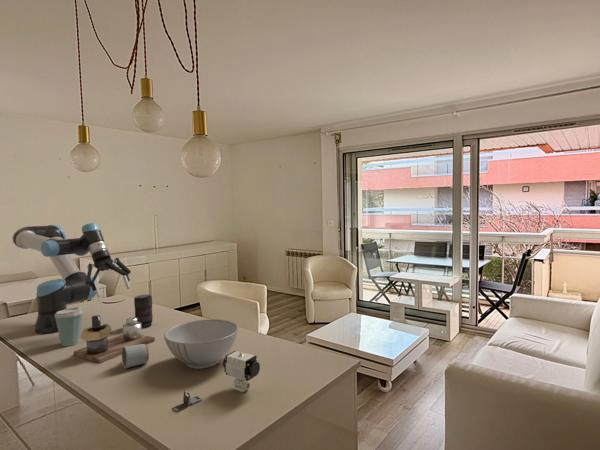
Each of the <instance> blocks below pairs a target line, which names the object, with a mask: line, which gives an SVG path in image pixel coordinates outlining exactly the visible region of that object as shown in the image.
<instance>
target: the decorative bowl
mask: <svg viewBox="0 0 600 450" xmlns="http://www.w3.org/2000/svg"><path fill="white" fill-rule="evenodd" d="M238 332H239V326H238V324H237V323H235V322H234V321H232V320H231V321H230V320H227V319H218V318H207V319H206V318H205V319H197V320H196V319H195V320H191V321H186V322H183V323H180V324H176V325H173V326H172V327H170V328H169V329H167V330H166V331H165V333H164V334H163V339H164V342H165V344H166V346H167V348H168V350H169V351H170V353H171V354H172V355H173V356H174V357H175V358H176V359H177V360H179V361H180V362H182V363H184V364H185V365H186V367H188V368H191V369H197V370H198V369H199V370H200V369H206V368H211V367H213V366H215V365H217V364H219V363H220V361H221V359H222V358H225V356H226V355H228V354H229V352H230V351H231V349H232V348H233V346H234V344H235V341H237V338H238V337H237V336H238Z"/></svg>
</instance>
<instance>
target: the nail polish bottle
mask: <svg viewBox="0 0 600 450" xmlns="http://www.w3.org/2000/svg"><path fill="white" fill-rule="evenodd" d="M101 325H102V324H101V315H98V314H97V315H92V316H91V327H92V332H94V331H100V330H101ZM108 339H109V337H106V338H103V339H100V340H92V341H87V340H85V343H86V344H85V345H86V347H87V354H89V355H96V354H101V353H104V352H106V351H107V350H108Z"/></svg>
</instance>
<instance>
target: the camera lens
mask: <svg viewBox="0 0 600 450" xmlns="http://www.w3.org/2000/svg"><path fill="white" fill-rule="evenodd" d="M133 301H134V302H133V303H134V317H137V322H141V329H146V328H149V327H151V326H152V325H153V324H152V323H153V317H154V316H153V297H152V295H151V294H140V295H136V296H134V300H133Z"/></svg>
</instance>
